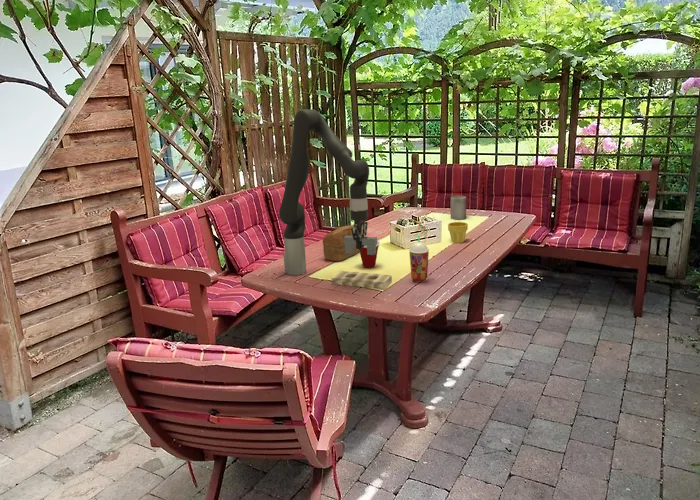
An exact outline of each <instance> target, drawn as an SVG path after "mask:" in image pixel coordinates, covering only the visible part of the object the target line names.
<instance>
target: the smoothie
mask: <svg viewBox="0 0 700 500" xmlns="http://www.w3.org/2000/svg"><path fill="white" fill-rule="evenodd" d="M420 237H421V236H420V235H418V236H417V241H416V242H414V243H412V245H411V247H409V248H410V249H409V261H410V274H411V275H410V276H411V278H412V281H413V282H416V283H424V282H426V281H427V279H428V270H429V255H430V254H429V253H430V252H429V251H430V249H429V248H428V246H427V245H426V244H425V242H421V240H420Z"/></svg>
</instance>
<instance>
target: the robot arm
mask: <svg viewBox="0 0 700 500" xmlns="http://www.w3.org/2000/svg"><path fill="white" fill-rule="evenodd" d="M292 127H293V129H292V142H291V150H290V158H289V162H288V167H287V172H286V173H287V175H286V179H285V186H284V193H283V196H282V200H281V204H280V208H279V211H278V213H279V214H278V216H279V219H280V220H281V222H282V223H283V224H284V225H286V228H285V229H284V231H283V241H284V242H283V244H284V253H283V266H284V267H283V268H284V274H286V273H288V274H287V275H289V274H290V275H289V276H301V275H304V274H306V273H307V263H306V262H307V261H306V260H307V259H306V247H305V246H306V245H305V230H306V214H305V208H304V206H303V204H302V203H301V202H299V198H300V195H301V193H302V191H303V189H304V186H305V184H306V183H307V180H308V178H309V175H310V174H309V172H310V167H311V159H310V154H309V150H308V137H309V133H310V132H313V133H314V134H316V135H317V136H318V137H320V139H322V141H323V143H324V145H325V148H326V151H327V152H328V153H329V154H330V155H331V156H332V158H334V160H335V161H337V162H338V164H339V166H340V167H341V169H342V171H343V173H344V174H345V175H346V176H347V177H348V178H351V179H354V180H353V183H352V184H350V185H349V215H350V216H349V217H350V218H349V219H350V221H353V225H354V228H352V229H351V231H352V235H353V240H355V241H356V249H361V248H362V247H364V246H365V245H362V244H361V236H362V237H367V233H368V232H367V231H368V222H367V220H368V219H369V206H368V205H369V204H368V203H369V201H368V197H367V195H368V192H367V187H368V183H369V176H370V166H369V164H368V162H367V161H366V160H364V159H358V160H354V159H353V151H352V150H351V149H350V148H348V146H347V145H346V144H345V143H344V142H343V141H342V140H341V139H340V138H339V137H338V136H337V135H336V134H335V132H334V131H333V130H332V128H331V127H330V126H329V124H328V122H327V121H326V120H325V118H324V117H323V116H322V114H321V113H320V112H318V110H316V109H308V108H306V109H299V110H298V111H296V113H295V116H294V119H293V126H292ZM303 273H304V274H303ZM300 274H301V275H300Z"/></svg>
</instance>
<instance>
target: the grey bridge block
mask: <svg viewBox="0 0 700 500" xmlns="http://www.w3.org/2000/svg"><path fill="white" fill-rule="evenodd" d="M377 241H378V238H377V236H376V237H375V236H365V237H362V236H361V244H362V245H366V246H367V255H375V254H376V245H377ZM344 244H345V252H346V253H351V254H352V253H353V252H355V250H354V245H356V241H355V240H353V236H345V237H344Z"/></svg>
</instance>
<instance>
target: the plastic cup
mask: <svg viewBox="0 0 700 500" xmlns="http://www.w3.org/2000/svg"><path fill="white" fill-rule="evenodd" d="M380 244H381V243H380V241H378V240H377V245H376V254H375V255H367V246H366V245H365V246H364V247H362V248H361V249H359V250H360V252H359V254H360V259H361V264H362V267H363V268H365V269H374V268H375V267H376V264H377V259H378V258H377V257H378V250H379V246H380ZM373 267H374V268H373Z"/></svg>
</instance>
